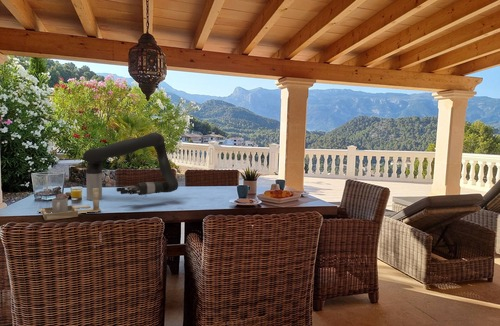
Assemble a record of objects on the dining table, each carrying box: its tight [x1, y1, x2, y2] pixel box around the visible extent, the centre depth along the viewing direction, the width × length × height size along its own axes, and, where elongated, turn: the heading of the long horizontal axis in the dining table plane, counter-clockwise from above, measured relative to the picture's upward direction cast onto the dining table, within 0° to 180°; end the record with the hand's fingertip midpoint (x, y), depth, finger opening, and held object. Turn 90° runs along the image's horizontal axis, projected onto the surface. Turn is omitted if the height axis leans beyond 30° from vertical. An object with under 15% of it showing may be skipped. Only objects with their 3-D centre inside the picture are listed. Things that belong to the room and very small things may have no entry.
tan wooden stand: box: [41, 188, 102, 221], centre depth 180 cm, size 15×28×13 cm, turn 127°
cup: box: [51, 197, 69, 213], centre depth 176 cm, size 7×10×9 cm
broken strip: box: [37, 204, 91, 213], centre depth 189 cm, size 5×26×1 cm, turn 127°
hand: (118, 191), depth 193 cm, fingers open, 8 cm apart
